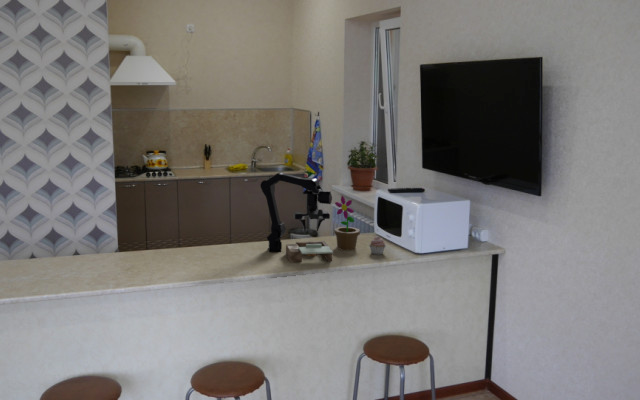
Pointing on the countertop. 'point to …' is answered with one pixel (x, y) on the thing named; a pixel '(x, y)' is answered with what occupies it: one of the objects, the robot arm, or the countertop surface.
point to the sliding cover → (315, 249)
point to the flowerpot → (346, 228)
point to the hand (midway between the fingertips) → (311, 231)
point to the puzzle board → (296, 255)
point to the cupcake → (377, 246)
